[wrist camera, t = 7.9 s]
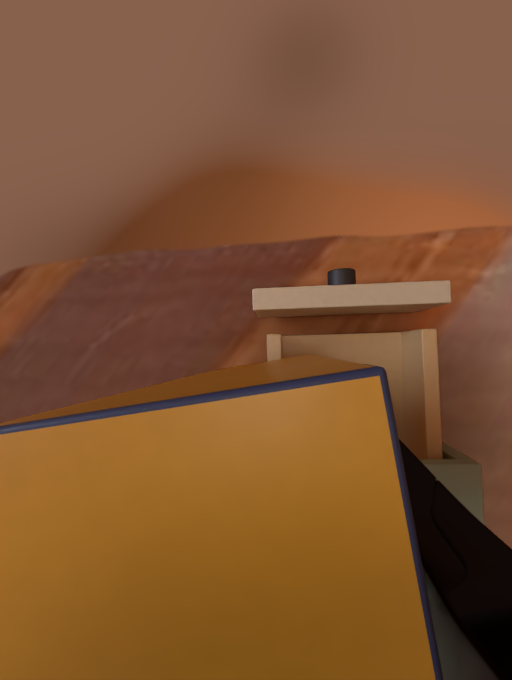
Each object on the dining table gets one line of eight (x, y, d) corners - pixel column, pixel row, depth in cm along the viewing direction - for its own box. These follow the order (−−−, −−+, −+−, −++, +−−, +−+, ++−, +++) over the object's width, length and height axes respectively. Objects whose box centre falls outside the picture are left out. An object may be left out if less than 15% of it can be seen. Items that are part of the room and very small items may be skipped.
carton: (311, 354, 16) (387, 366, 3) (328, 457, 16) (488, 910, 3) (215, 369, 17) (-49, 434, 4) (231, 470, 16) (8, 910, 4)
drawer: (257, 282, 23) (251, 266, 18) (416, 275, 22) (449, 257, 17) (262, 472, 22) (258, 502, 18) (425, 472, 21) (461, 503, 17)
